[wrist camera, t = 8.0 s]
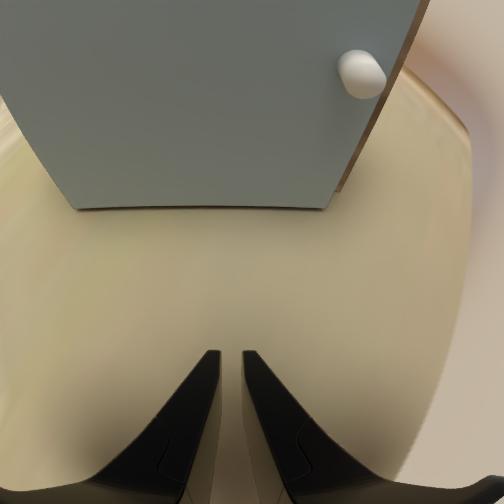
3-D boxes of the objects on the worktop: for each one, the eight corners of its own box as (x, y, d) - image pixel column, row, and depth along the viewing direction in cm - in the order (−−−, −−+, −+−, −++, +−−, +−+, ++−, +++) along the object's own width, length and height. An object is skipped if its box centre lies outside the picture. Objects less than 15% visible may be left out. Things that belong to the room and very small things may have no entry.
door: (328, 224, 18) (452, -27, 4) (69, 224, 17) (-56, 19, 3) (322, 189, 20) (413, -44, 5) (79, 190, 18) (-16, -9, 4)
